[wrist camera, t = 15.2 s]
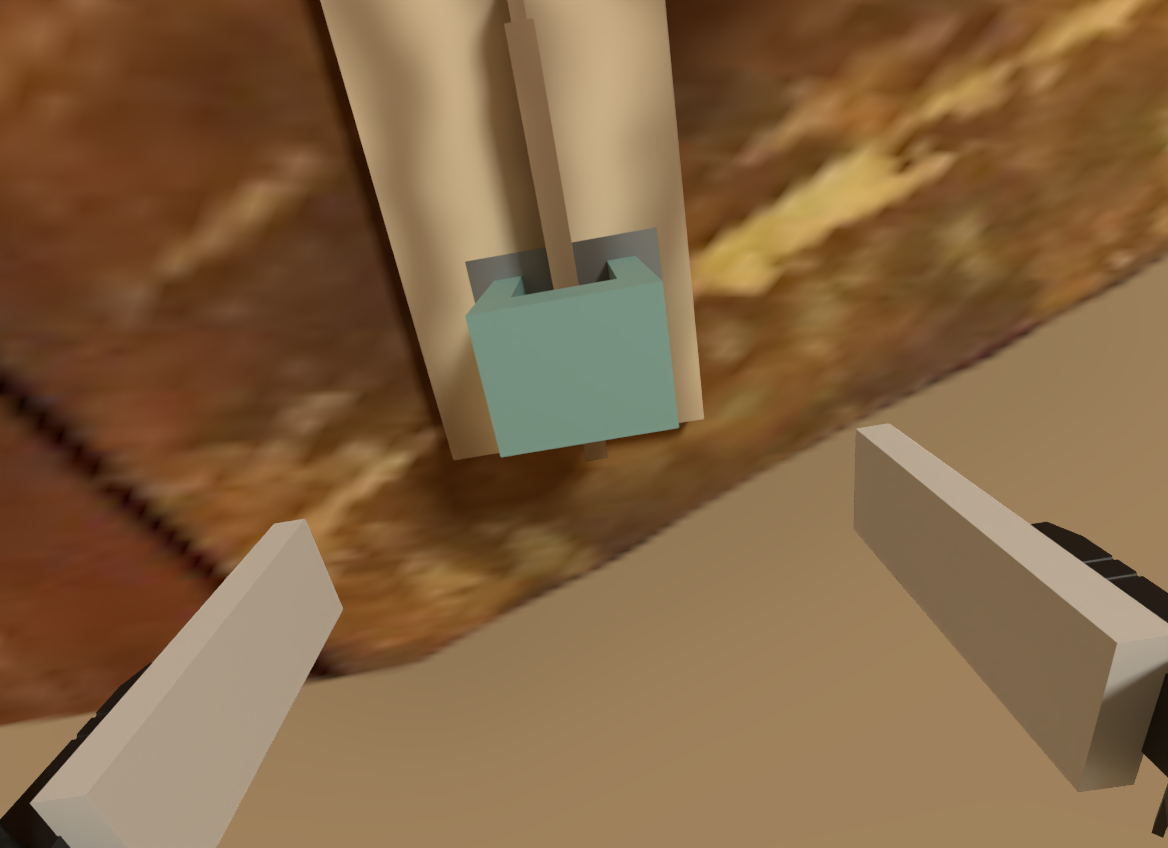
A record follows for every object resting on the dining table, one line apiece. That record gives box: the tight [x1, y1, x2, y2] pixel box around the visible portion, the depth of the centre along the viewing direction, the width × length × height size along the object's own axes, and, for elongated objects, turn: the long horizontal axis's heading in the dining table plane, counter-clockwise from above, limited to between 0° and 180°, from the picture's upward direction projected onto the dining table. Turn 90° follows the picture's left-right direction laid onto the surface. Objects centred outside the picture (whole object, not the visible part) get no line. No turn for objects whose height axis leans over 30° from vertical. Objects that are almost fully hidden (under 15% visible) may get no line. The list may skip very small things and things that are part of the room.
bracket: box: [465, 256, 679, 457], centre depth 26 cm, size 8×6×9 cm
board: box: [320, 0, 704, 461], centre depth 26 cm, size 15×32×5 cm, turn 10°
